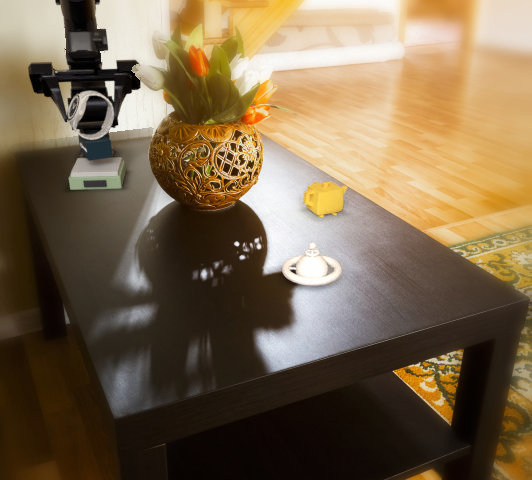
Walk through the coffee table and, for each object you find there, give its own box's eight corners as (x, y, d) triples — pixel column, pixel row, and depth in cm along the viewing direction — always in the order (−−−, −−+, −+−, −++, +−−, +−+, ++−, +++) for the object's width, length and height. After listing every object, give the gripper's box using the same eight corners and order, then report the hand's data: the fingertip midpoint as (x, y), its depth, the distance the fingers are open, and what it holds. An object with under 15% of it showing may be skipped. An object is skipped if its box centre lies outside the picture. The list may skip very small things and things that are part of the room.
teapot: (334, 201, 110) (336, 172, 107) (352, 213, 105) (355, 183, 102) (294, 208, 107) (295, 178, 104) (310, 220, 102) (312, 190, 99)
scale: (77, 172, 120) (75, 157, 118) (125, 171, 121) (124, 156, 119) (70, 190, 112) (67, 174, 110) (121, 189, 113) (119, 173, 111)
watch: (69, 153, 115) (60, 91, 109) (112, 146, 118) (105, 86, 112) (77, 162, 110) (68, 98, 105) (122, 155, 114) (115, 93, 108)
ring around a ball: (320, 301, 80) (352, 278, 85) (321, 261, 77) (354, 239, 83) (270, 284, 84) (303, 263, 90) (269, 245, 81) (304, 226, 87)
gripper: (18, 11, 103) (26, 96, 100) (134, 9, 107) (145, 92, 104) (30, 53, 114) (37, 131, 110) (135, 50, 118) (145, 126, 114)
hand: (91, 119), depth 110 cm, fingers closed on watch, 8 cm apart
